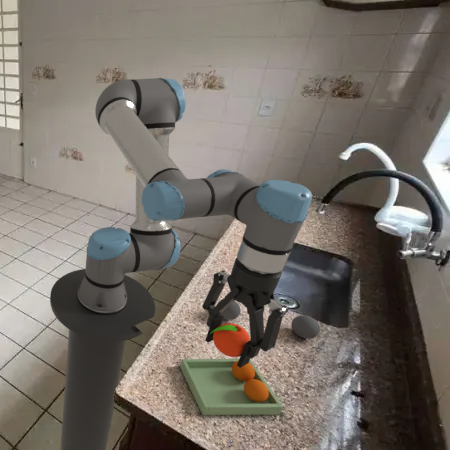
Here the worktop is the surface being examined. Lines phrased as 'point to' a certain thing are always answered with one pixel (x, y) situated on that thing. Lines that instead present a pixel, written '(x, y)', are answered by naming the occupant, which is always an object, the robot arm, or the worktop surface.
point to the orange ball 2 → (256, 390)
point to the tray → (224, 389)
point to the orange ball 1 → (243, 371)
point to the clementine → (230, 339)
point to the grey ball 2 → (305, 326)
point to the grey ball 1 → (231, 311)
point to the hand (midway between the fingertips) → (226, 351)
